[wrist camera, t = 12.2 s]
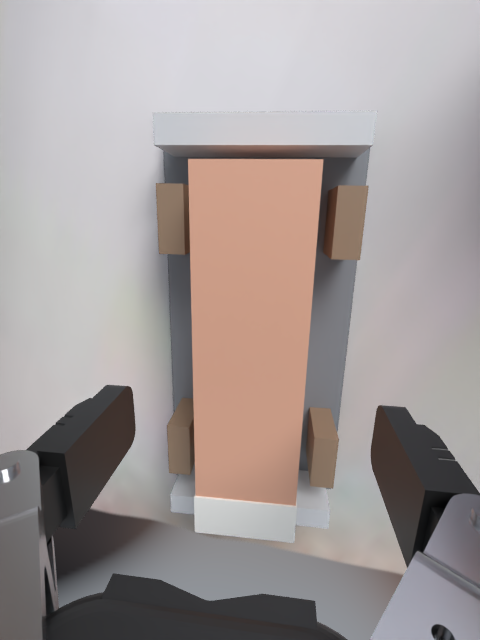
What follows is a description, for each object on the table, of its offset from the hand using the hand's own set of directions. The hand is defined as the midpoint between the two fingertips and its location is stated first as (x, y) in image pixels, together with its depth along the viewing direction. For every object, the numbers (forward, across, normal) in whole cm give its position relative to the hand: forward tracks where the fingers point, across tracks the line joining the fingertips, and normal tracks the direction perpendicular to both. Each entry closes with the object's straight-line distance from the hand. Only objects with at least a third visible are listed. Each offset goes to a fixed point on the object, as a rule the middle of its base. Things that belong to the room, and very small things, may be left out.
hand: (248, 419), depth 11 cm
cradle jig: (+10, 0, 0) cm, 10 cm away
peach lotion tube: (+9, 0, 0) cm, 9 cm away
